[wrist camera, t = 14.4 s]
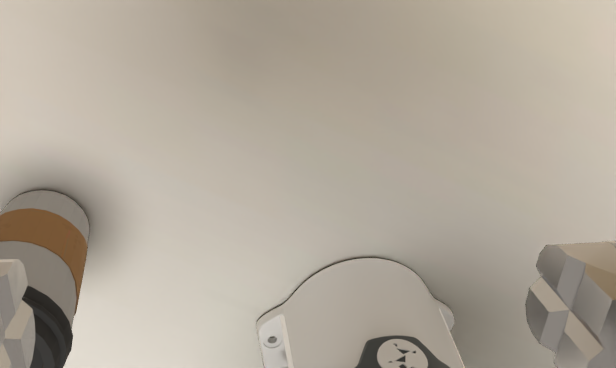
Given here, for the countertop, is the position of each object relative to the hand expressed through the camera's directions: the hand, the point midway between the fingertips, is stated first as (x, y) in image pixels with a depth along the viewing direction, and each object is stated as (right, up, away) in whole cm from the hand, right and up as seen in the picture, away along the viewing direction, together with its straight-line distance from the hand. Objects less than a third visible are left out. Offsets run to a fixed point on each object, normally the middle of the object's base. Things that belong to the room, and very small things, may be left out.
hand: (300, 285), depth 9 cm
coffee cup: (-20, -1, +36) cm, 41 cm away
